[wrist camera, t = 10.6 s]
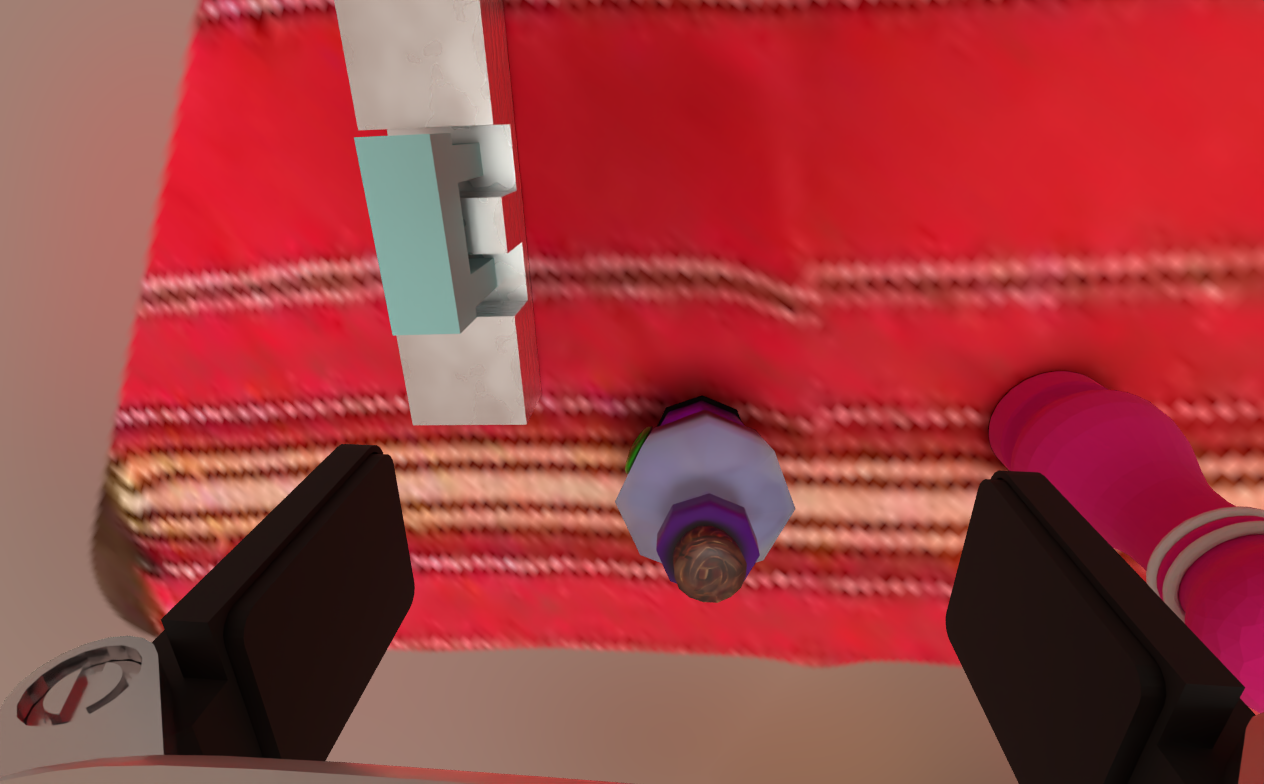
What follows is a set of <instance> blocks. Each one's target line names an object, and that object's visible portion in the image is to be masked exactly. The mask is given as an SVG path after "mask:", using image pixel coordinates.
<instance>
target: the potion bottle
mask: <svg viewBox="0 0 1264 784" xmlns="http://www.w3.org/2000/svg"><path fill="white" fill-rule="evenodd" d="M652 428H653V426H652V427H647V428H645V429H644V430H643V431H642V432H641V433H640V434H639V436H638V437H637V439H636V440H635V441H634V443H633V445H632V447H631V449H630V451H629V455H628V458H627V461H626V465H625V471H626V473H627V474H628V476H627V478H626V480H625V482H624V484H623V486H622V488H621V490H620V492H619V495H618V497H617V499H616V501H615V503H616V505H617V507H618V509H619V511H620V513H621V515H622V517H623V519H624V521H625V524H626V526H627V528H628V530H629V532H630V534H631V536H632V538H633V540H634V542H635V544H636V547H637V549H638V551H639V553H640V555H642V556H645V557H647V558H650V559H653V560H655V561H658V562H660V563H662V564H663V566H664V568H665V571H666V573H667V575H668V577H669V579H670V581H672V582H674V583H677V584H678V587H679V589H680V590H681V591H683V592H684V593H685V594H686V595H687V596H689V597H690V598H693V599H696V600H699V601H702V602H715V603H718V602H720V601H722V600H725V599H727V598H729V597H731V596H732V595H733V594H735V593H736V592H737V591H738V590H739V589H740V588H741V586H742V584H743V582H744V580H745V579H746V577H747V575H748V574H749V572H750V571H751V569H752V567H753V566H754V564H755V563H756V562H759V561H762V560H764V558H765V557H766V555H767V553H768V552H769V550H770V549H771V547H772V545H773V544H774V542H775V541H776V539H777V537H778V536H779V534H780V533H781V531H782V529H783V528H784V526H785V525H786V523H787V521H788V520H789V518H790V517H791V515H792V513H793V512H794V510H795V506H794V504H793V501H792V498H791V495H790V493H789V490H788V487H787V485H786V482H785V479H784V476H783V474H782V471H781V468H780V465H779V463H778V460H777V457H776V454H775V452H774V450H773V449H772V448H771V447H770V446H769V445H768V444H767V442H766V441H765V440H764V439H763V438H762V437H761V436H760V435H759V434H758V433H757V431H756V430H754V429H751V428H749V427H746V426H745V425H744V424H743V423H742V422H741V419H740V417H739V414H738V411H737V410H736V409H733V408H731V407H729V406H726V405H724V404H721V403H719V402H717V401H714V400H712V399H709V398H707V397H705V396H699V397H696V398H693V399H690V400H688V401H685V402H682V403H679V404H676V405H673V406H670V407H667V408H666V409H665V411H664V413H663V415H662V418H661V420H660V422H659V424H658V426H657V427H655V428H653V430H652Z"/></svg>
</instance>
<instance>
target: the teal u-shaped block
mask: <svg viewBox="0 0 1264 784" xmlns="http://www.w3.org/2000/svg"><path fill="white" fill-rule="evenodd" d="M354 140H355V145H356V150H357V156H358V161H359V166H360V171H361V176H362V181H363V186H364V191H365V196H366V201H367V207H368V212H369V217H370V222H371V227H372V232H373V237H374V242H375V247H376V252H377V258H378V263H379V268H380V273H381V278H382V283H383V288H384V293H385V298H386V303H387V309H388V314H389V319H390V324H391V329H392V334H393V335H431V334H461V333H462V332H463V331H464V330H465V329H466V328H467V327H468V326H469V325H470V324H471V323H472V322H473V321H474V320H475V319H476V318H477V315H476V308H475V307H476V306H477V305H478V304H479V303H480V302H481V301H483V300H484V299H485V298H486V297H487V296H488V295H489V294H490V293H491V292H492V291H493V290H495V289H496V288H497V287H498V286H497V278H496V270H495V263H494V258H473V259H468V252H467V245H466V238H465V231H464V224H463V216H462V209H461V202H460V195H459V188H458V183H459V182H462V181H466V180H469V179H473V178H476V177H480V176H483V168H482V160H481V153H480V145H479V143H460V144H452V139H451V133H435V134H415V135H394V136H374V137H355V138H354Z"/></svg>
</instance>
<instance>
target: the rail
mask: <svg viewBox="0 0 1264 784" xmlns="http://www.w3.org/2000/svg"><path fill="white" fill-rule="evenodd" d="M334 2H335V7H336V12H337V18H338V23H339V29H340V34H341V39H342V45H343V50H344V56H345V61H346V66H347V72H348V77H349V82H350V88H351V93H352V99H353V104H354V109H355V115H356V120H357V126H358V130H384V129H387V133H388V136H394V135H415V134H435V133H451V139H452V144H460V143H479V145H480V153H481V160H482V168H483V176H480V177H476V178H473V179H469V180H466V181H462V182H459V183H458V188H459V195H460V202H461V209H462V216H463V224H464V231H465V238H466V245H467V252H468V259H473V258H494V263H495V270H496V278H497V286H498V287H497V288H496V289H495V290H493V291H492V292H491V293H490V294H489V295H488V296H487V297H486V298H485V299H484V300H483V301H481V302H480V303H479V304H478V305H477V306H476V307H475V308H476V315H477V318H476V319H475V320H474V321H473V322H472V323H471V324H470V325H469V326H468V327H467V328H466V329H465V330H464V331H463V332H462V333H461V334H431V335H396V336H397V341H398V347H399V352H400V357H401V363H402V368H403V374H404V379H405V384H406V390H407V395H408V400H409V406H410V411H411V417H412V422H413V425H522V424H527V423H528V421H529V419H530V417H531V415H532V413H533V411H534V408H535V406H536V404H537V402H538V400H539V398H540V396H541V394H542V393H541V383H540V373H539V363H538V353H537V342H536V332H535V322H534V312H533V302H532V292H531V282H530V272H529V262H528V252H527V242H526V231H525V221H524V211H523V201H522V191H521V181H520V171H519V161H518V151H517V141H516V130H515V120H514V110H513V100H512V90H511V80H510V70H509V60H508V50H507V40H506V29H505V19H504V9H503V0H334Z"/></svg>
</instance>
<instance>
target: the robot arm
mask: <svg viewBox="0 0 1264 784" xmlns="http://www.w3.org/2000/svg"><path fill="white" fill-rule="evenodd" d="M414 589H415V586H414V578H413V573H412V567H411V561H410V555H409V550H408V544H407V538H406V532H405V527H404V521H403V515H402V509H401V504H400V498H399V492H398V486H397V481H396V475H395V469H394V464H393V460H392V458H391V456H389V455H386V454H383V452H382V450H381V448H380V447H378V446H377V445H354V444H341V445H340V446H338V447H337V448H336V449H335V450H334V451H333V452H332V453H331V454H330V455H329V456H328V457H327V458H326V459H325V460H324V461H323V462H322V463H320V464H319V465H318V466H317V467H316V468H315V469H314V470H313V471H312V472H311V473H310V474H309V475H308V476H307V477H306V478H305V479H304V480H303V481H302V482H301V483H300V484H299V485H298V486H297V487H296V488H295V489H294V490H293V491H292V492H291V493H290V494H289V495H288V496H287V497H286V498H285V499H284V500H283V501H282V502H281V503H280V504H279V505H278V506H277V507H276V508H274V509H273V510H272V511H271V512H270V513H269V514H268V515H267V516H266V517H265V518H264V519H263V520H262V521H261V522H260V523H259V524H258V525H257V526H256V527H255V528H254V529H253V530H252V531H251V532H250V533H249V534H248V535H247V536H246V537H245V538H244V539H243V540H242V541H241V542H240V543H239V544H238V545H237V546H236V547H235V548H234V549H233V550H232V551H231V552H230V553H228V554H227V555H226V556H225V557H224V558H223V559H222V560H221V561H220V562H219V563H218V564H217V565H216V566H215V567H214V568H213V569H212V570H211V571H210V572H209V573H208V574H207V575H206V576H205V577H204V578H203V579H202V580H201V581H200V582H199V583H198V584H197V585H196V586H195V587H194V588H193V589H192V590H191V591H190V592H189V593H188V594H187V595H186V596H185V597H184V598H182V599H181V600H180V601H179V602H178V603H177V604H176V605H175V606H174V607H173V608H172V609H171V610H170V611H169V612H168V613H167V614H166V615H165V616H164V617H163V618H162V619H161V621H162V624H163V626H164V629H165V630H164V631H163V632H162V633H161V634H160V635H159V636H158V637H157V638H156V639H155V640H154V641H153V642H152V643H151V642H149V641H147V640H146V639H144V638H140V637H133V636H120V637H111V638H105V639H101V640H98V641H94V642H91V643H87V644H84V645H81V646H79V647H77V648H74V649H72V650H70V651H68V652H65V653H63V654H61V655H59V656H57V657H56V658H54V659H52V660H50V661H49V662H47V663H45V664H44V665H42V666H41V667H39V668H37V669H36V670H35V671H34V672H32V673H31V674H30V675H29V676H27V677H26V678H25V679H24V680H22V681H21V682H20V683H19V684H18V685H17V686H16V687H15V688H14V690H13V691H12V692H11V693H10V694H9V695H8V696H7V697H6V699H5V700H4V702H3V705H2V707H1V709H0V784H631V783H618V782H603V781H592V780H578V779H566V778H553V777H552V778H551V777H539V776H526V775H511V774H498V773H484V772H471V771H456V770H443V769H429V768H415V767H401V766H387V765H373V764H359V763H345V762H327V761H325V760H326V759H327V757H328V755H329V753H330V751H331V749H332V748H333V746H334V744H335V742H336V740H337V739H338V737H339V735H340V733H341V731H342V730H343V728H344V726H345V724H346V722H347V721H348V719H349V717H350V715H351V713H352V712H353V710H354V708H355V706H356V704H357V703H358V701H359V699H360V697H361V695H362V694H363V692H364V690H365V688H366V686H367V684H368V683H369V681H370V679H371V677H372V675H373V674H374V672H375V670H376V668H377V666H378V665H379V663H380V661H381V659H382V657H383V656H384V654H385V652H386V650H387V648H388V647H389V645H390V643H391V641H392V639H393V638H394V636H395V634H396V632H397V630H398V628H399V627H400V625H401V623H402V621H403V619H404V618H405V616H406V614H407V612H408V610H409V609H410V606H411V604H412V601H413V597H414ZM946 630H947V634H948V637H949V640H950V642H951V644H952V646H953V648H954V650H955V652H956V654H957V656H958V659H959V661H960V663H961V665H962V667H963V669H964V671H965V673H966V675H967V677H968V679H969V681H970V683H971V685H972V688H973V690H974V692H975V694H976V696H977V698H978V700H979V702H980V704H981V706H982V708H983V710H984V712H985V714H986V716H987V718H988V720H989V723H990V725H991V727H992V729H993V731H994V733H995V735H996V737H997V739H998V741H999V743H1000V745H1001V748H1002V750H1003V752H1004V754H1005V756H1006V758H1007V760H1008V762H1009V764H1010V766H1011V768H1012V770H1013V772H1014V774H1015V777H1016V778H1017V781H1018V783H1019V784H1264V712H1263V713H1260V714H1258V715H1255V714H1254V713H1253V712H1252V711H1251V709H1250V708H1249V707H1248V706H1247V705H1246V704H1245V703H1244V702H1243V701H1242V700H1241V699H1240V697H1241V695H1242V693H1243V691H1244V689H1245V687H1244V686H1243V684H1242V683H1241V682H1240V681H1239V680H1238V679H1237V678H1236V677H1235V676H1234V675H1233V674H1232V673H1231V672H1230V671H1229V670H1228V669H1227V668H1226V667H1225V666H1224V664H1223V663H1222V662H1221V661H1220V660H1219V659H1218V658H1217V657H1216V656H1215V655H1214V654H1213V653H1212V652H1211V651H1210V650H1209V649H1208V648H1207V647H1206V646H1205V644H1204V643H1203V642H1202V641H1201V640H1200V639H1199V638H1198V637H1197V636H1196V635H1195V634H1194V633H1193V632H1192V631H1191V630H1190V629H1189V628H1188V627H1187V625H1186V624H1185V623H1184V622H1183V621H1182V620H1181V619H1180V618H1179V617H1178V616H1177V615H1176V614H1175V613H1174V612H1173V611H1172V610H1171V609H1170V608H1169V607H1168V605H1167V604H1166V603H1165V602H1164V601H1163V600H1162V599H1161V598H1160V597H1159V596H1158V595H1157V594H1156V593H1155V592H1154V591H1153V590H1152V589H1151V588H1150V587H1149V585H1148V584H1147V583H1146V582H1145V581H1144V580H1143V579H1142V578H1141V577H1140V576H1139V575H1138V574H1137V573H1136V572H1135V571H1134V570H1133V569H1132V568H1131V566H1130V565H1129V564H1128V563H1127V562H1126V561H1125V560H1124V559H1123V558H1122V557H1121V556H1120V555H1119V554H1118V553H1117V552H1116V551H1115V550H1114V549H1113V548H1112V546H1111V545H1110V544H1109V543H1108V542H1107V541H1106V540H1105V539H1104V538H1103V537H1102V536H1101V535H1100V534H1099V533H1098V532H1097V531H1096V530H1095V529H1094V528H1093V526H1092V525H1091V524H1090V523H1089V522H1088V521H1087V520H1086V519H1085V518H1084V517H1083V516H1082V515H1081V514H1080V513H1079V512H1078V511H1077V510H1076V509H1075V508H1074V506H1073V505H1072V504H1071V503H1070V502H1069V501H1068V500H1067V499H1066V498H1065V497H1064V496H1063V495H1062V494H1061V493H1060V492H1059V491H1058V490H1057V489H1056V487H1055V486H1054V485H1053V484H1052V483H1051V482H1050V481H1049V480H1048V479H1047V478H1046V477H1045V476H1044V475H1042V474H1041V473H1039V472H1023V471H997V472H995V473H994V475H993V476H992V477H991V480H990V479H985V480H983V481H982V482H981V483H980V486H979V488H978V492H977V496H976V500H975V504H974V507H973V511H972V515H971V519H970V523H969V527H968V531H967V535H966V539H965V543H964V546H963V550H962V554H961V558H960V562H959V566H958V570H957V574H956V578H955V582H954V585H953V589H952V593H951V597H950V601H949V605H948V609H947V613H946Z"/></svg>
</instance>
